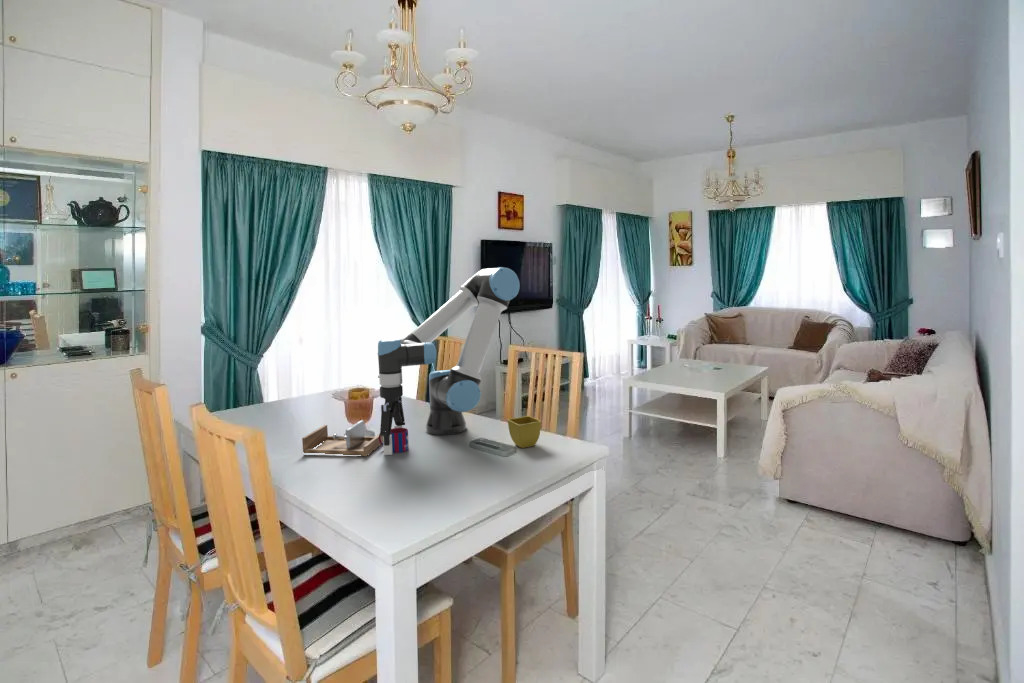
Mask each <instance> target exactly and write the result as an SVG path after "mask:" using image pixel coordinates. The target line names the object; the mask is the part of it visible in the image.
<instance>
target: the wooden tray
mask: <svg viewBox="0 0 1024 683" xmlns="http://www.w3.org/2000/svg"><path fill="white" fill-rule="evenodd" d="M328 433H329V432H328V424H324V425H322V426H321V427H318V428H317V429H314V431H312V432H310V433H308V434H306V435H305V436H303V437H302V440H301V441H302V442H301V443H302V453H303V452H304V453H325V454H343V455H361V456H367V455H368V454H370V453H371V452H372V451H373V450H374V451H376V450H375V449H376V448H377V447H378V446H379V447H380V446H382V445H381V444H380V442H379V434H377V435H376V436H366V435H365V440H364V441H363V442H362V443H360V444H359V445H358V446H356V447H355V448H354V449H353V450H350V449H347V446H346V440H344V439H337V441H334V440H333V435H328ZM380 439H381V442H382V443H383V436H380ZM323 441H324V442H323ZM320 443H322V445H320V446H318V447H317V448H316V449H313V448H314V447H316V446H317V445H319V444H320ZM379 447H378V448H379ZM378 448H377V449H378ZM374 451H373V452H374ZM373 452H372V453H373ZM372 453H371V454H372ZM371 454H370V455H371ZM368 456H369V455H368ZM368 456H367V457H368Z"/></svg>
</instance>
